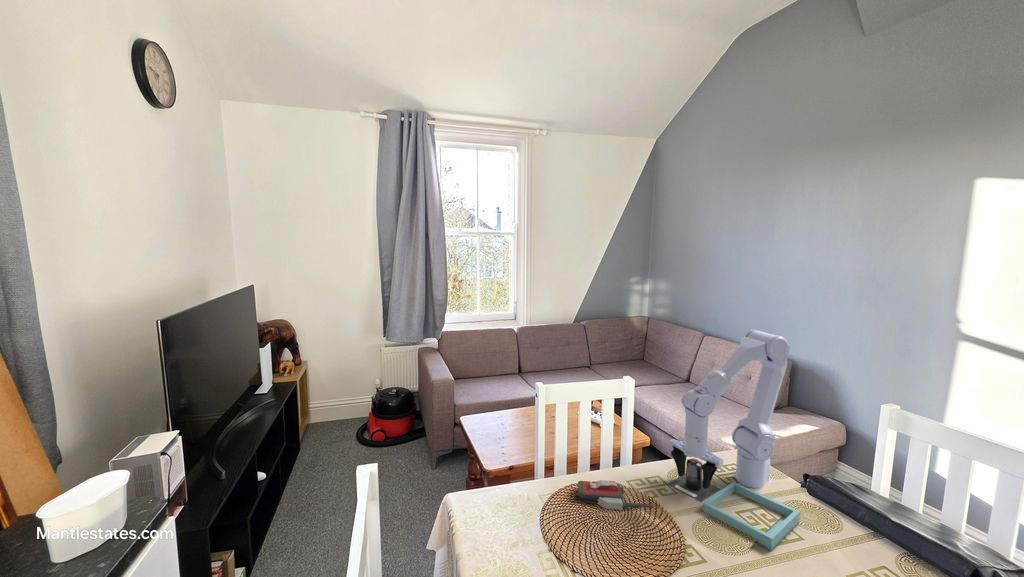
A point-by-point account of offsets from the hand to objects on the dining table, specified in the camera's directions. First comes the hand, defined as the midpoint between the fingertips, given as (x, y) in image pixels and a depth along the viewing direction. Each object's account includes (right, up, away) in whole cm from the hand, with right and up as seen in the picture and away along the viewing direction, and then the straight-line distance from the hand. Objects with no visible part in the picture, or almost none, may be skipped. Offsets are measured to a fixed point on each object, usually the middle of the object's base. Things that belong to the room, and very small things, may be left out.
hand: (693, 481), depth 115 cm
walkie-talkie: (-24, -4, -4) cm, 24 cm away
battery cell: (0, -2, 0) cm, 2 cm away
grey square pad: (0, -3, 0) cm, 3 cm away
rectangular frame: (+9, -4, -12) cm, 15 cm away
